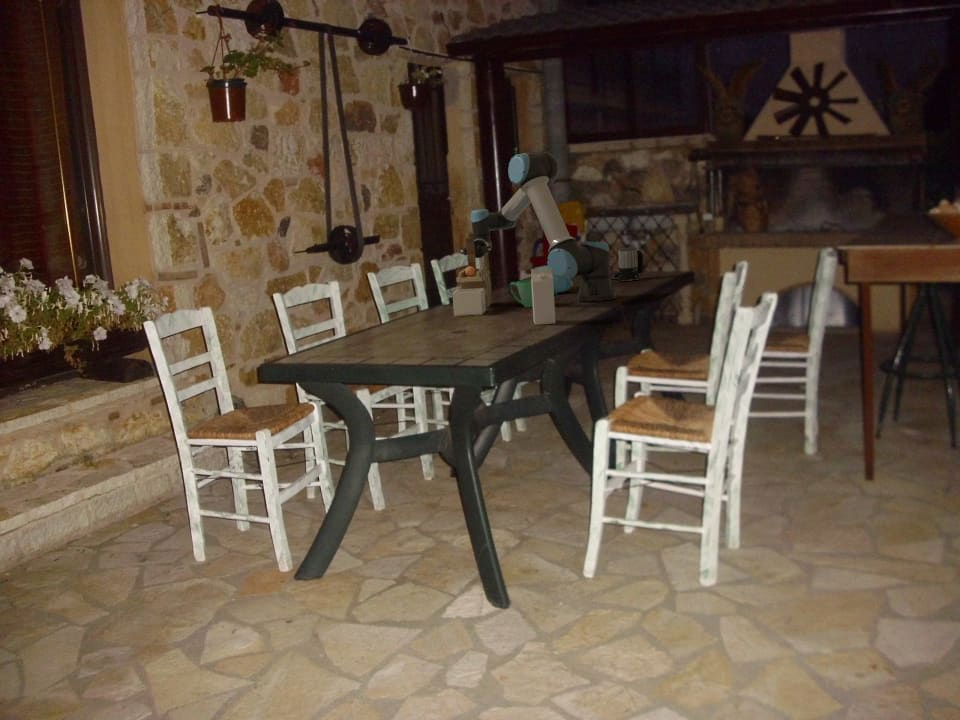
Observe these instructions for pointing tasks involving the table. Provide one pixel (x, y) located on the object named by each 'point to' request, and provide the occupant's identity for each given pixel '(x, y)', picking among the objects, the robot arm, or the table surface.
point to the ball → (470, 271)
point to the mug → (522, 292)
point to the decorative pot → (559, 282)
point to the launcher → (477, 282)
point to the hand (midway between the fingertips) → (469, 253)
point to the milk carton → (543, 296)
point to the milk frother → (629, 263)
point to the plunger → (471, 251)
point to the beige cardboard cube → (469, 302)
